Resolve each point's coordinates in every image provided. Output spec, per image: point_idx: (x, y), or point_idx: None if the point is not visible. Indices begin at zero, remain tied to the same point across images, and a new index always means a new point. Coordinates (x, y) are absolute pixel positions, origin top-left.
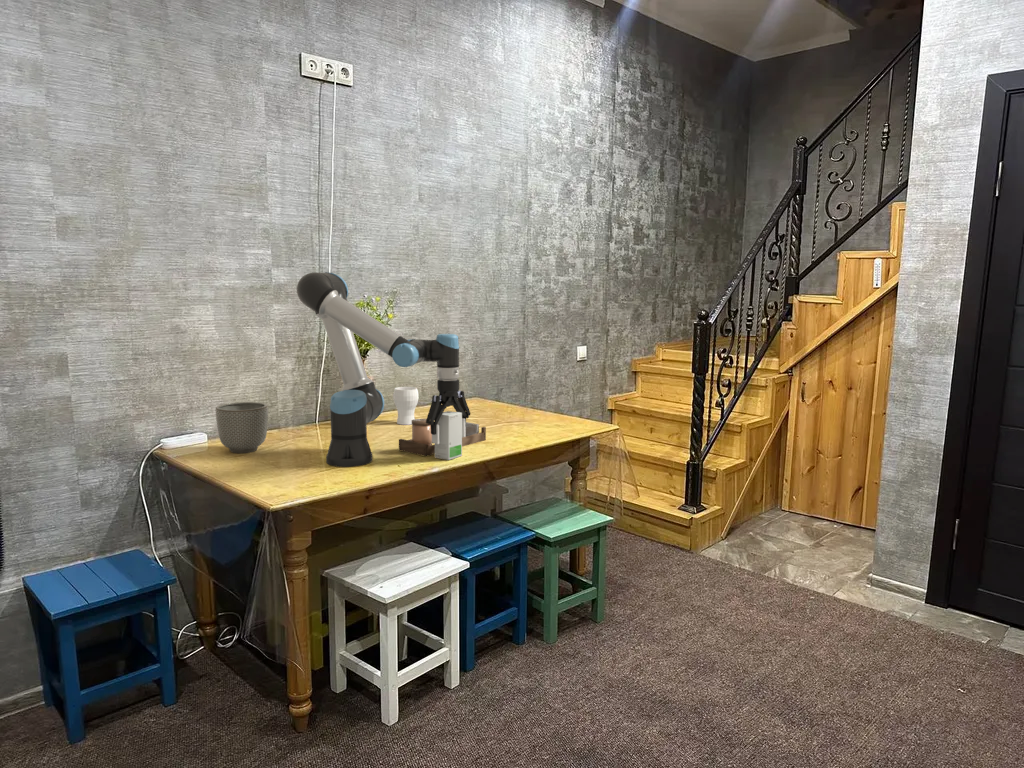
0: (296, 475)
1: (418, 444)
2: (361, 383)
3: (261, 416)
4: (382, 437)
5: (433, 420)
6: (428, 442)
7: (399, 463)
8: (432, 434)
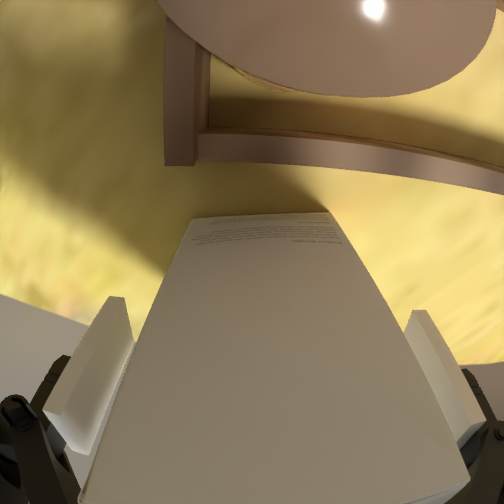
0: None
1: (166, 80)
2: None
3: None
4: None
5: (18, 471)
6: (284, 89)
7: (11, 160)
8: (83, 346)
